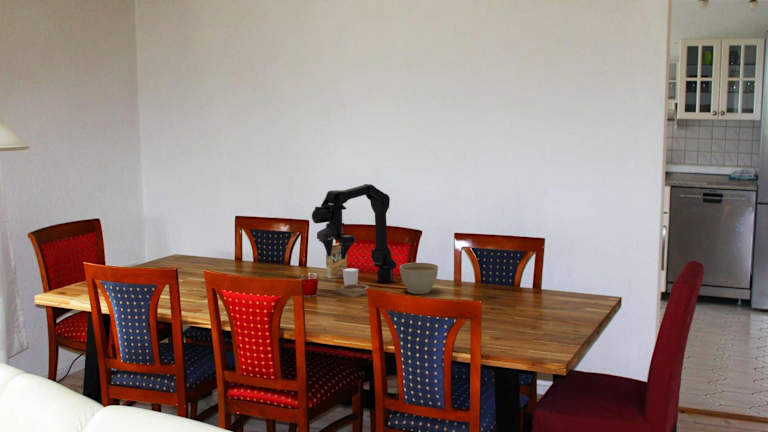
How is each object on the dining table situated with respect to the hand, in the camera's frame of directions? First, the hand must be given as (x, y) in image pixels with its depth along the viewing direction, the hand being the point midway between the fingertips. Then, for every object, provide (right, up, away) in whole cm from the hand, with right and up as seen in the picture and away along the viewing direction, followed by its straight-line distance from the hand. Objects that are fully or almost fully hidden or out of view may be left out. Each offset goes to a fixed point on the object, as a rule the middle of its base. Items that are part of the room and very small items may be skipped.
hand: (336, 257), depth 342 cm
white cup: (+6, -13, +14) cm, 20 cm away
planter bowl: (+35, -15, +1) cm, 38 cm away
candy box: (-2, -11, +30) cm, 32 cm away
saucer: (+8, -15, 0) cm, 17 cm away
